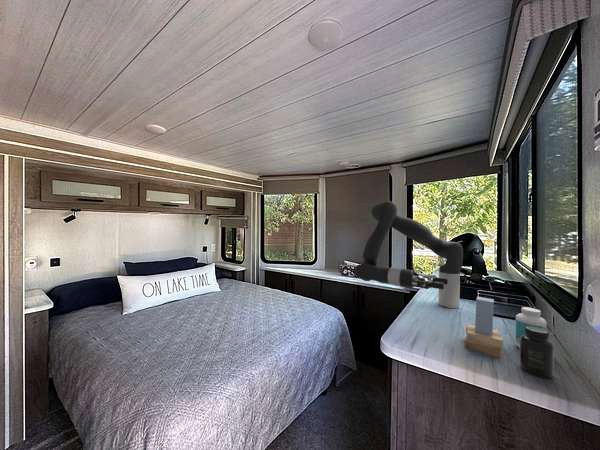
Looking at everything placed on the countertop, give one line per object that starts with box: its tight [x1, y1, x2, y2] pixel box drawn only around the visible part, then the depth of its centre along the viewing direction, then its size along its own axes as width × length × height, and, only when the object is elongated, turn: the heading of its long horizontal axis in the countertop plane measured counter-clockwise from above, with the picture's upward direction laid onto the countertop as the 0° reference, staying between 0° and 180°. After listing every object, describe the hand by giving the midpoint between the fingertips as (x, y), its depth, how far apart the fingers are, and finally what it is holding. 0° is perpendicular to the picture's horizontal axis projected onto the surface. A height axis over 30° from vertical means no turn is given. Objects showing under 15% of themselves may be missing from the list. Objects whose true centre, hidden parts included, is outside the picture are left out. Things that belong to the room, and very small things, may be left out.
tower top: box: [465, 323, 504, 351], centre depth 80 cm, size 9×9×3 cm
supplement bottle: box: [519, 326, 555, 379], centre depth 67 cm, size 7×7×12 cm
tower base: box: [464, 335, 501, 358], centre depth 80 cm, size 9×9×3 cm
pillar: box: [474, 296, 495, 336], centre depth 80 cm, size 4×4×11 cm
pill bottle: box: [514, 306, 548, 349], centre depth 79 cm, size 8×7×14 cm
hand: (445, 283), depth 89 cm, fingers open, 8 cm apart
